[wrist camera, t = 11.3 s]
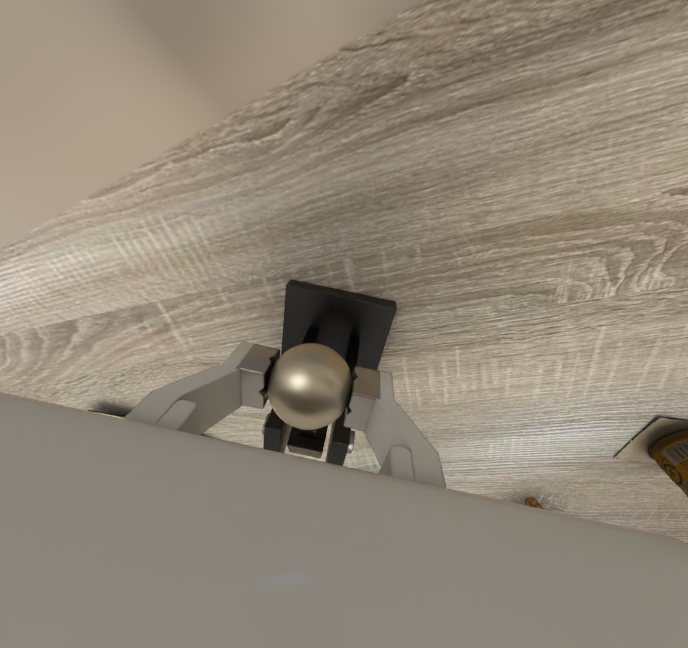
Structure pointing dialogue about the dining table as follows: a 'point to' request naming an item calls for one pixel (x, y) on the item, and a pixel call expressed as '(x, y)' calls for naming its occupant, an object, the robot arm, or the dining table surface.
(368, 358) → the ball handle lever stand
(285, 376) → the switch lever
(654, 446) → the condiment
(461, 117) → the dining table surface
